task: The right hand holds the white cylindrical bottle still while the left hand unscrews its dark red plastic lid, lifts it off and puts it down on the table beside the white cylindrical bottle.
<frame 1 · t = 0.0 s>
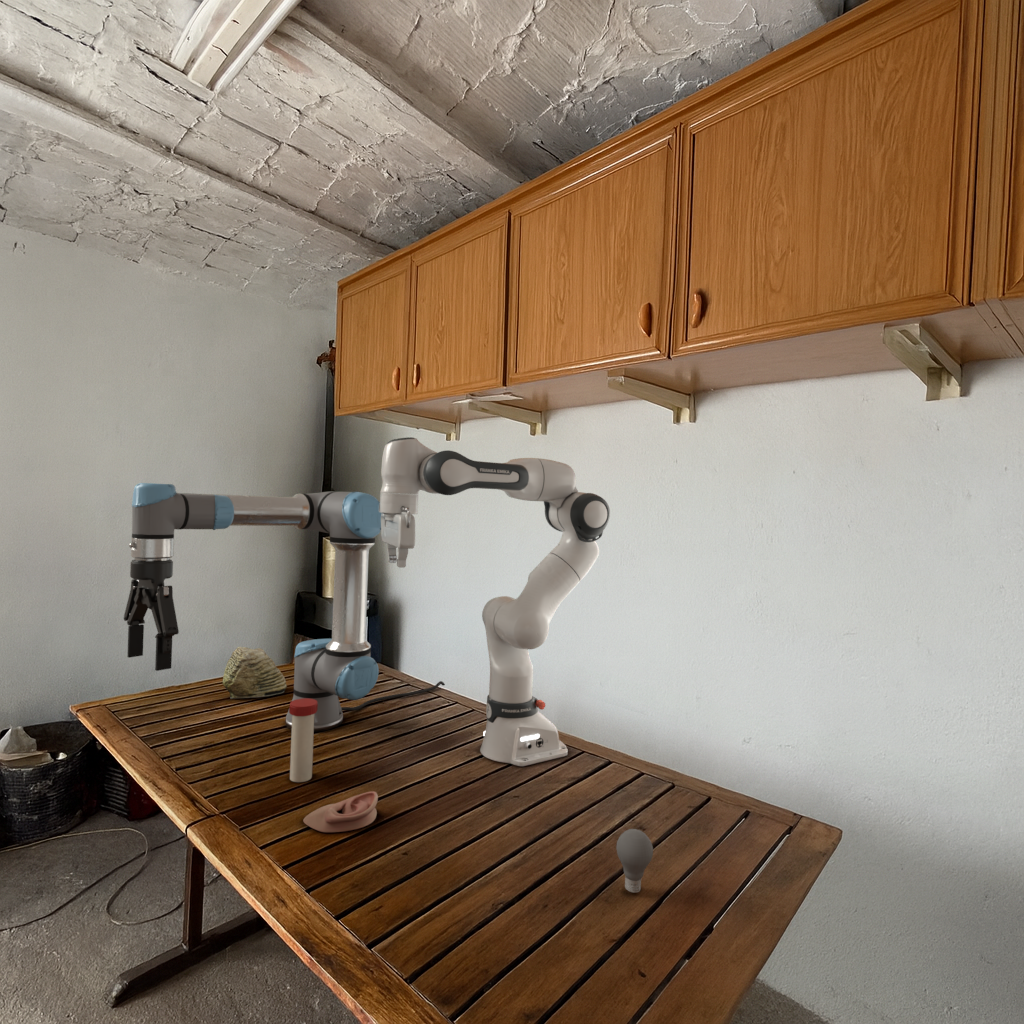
left hand: (148, 662, 129), 28 cm above the table, tool pointing down, fingers open, 13 cm apart
right hand: (396, 564, 149), 48 cm above the table, tool pointing down, fingers open, 8 cm apart
fossil: (254, 694, 198), on the table
lid: (303, 704, 142), point 17 cm above the table, screwed on, not yet turned
light bulb: (632, 891, 106), on the table
white cylindrical bottle: (300, 777, 142), on the table
anatomical model: (340, 819, 125), on the table
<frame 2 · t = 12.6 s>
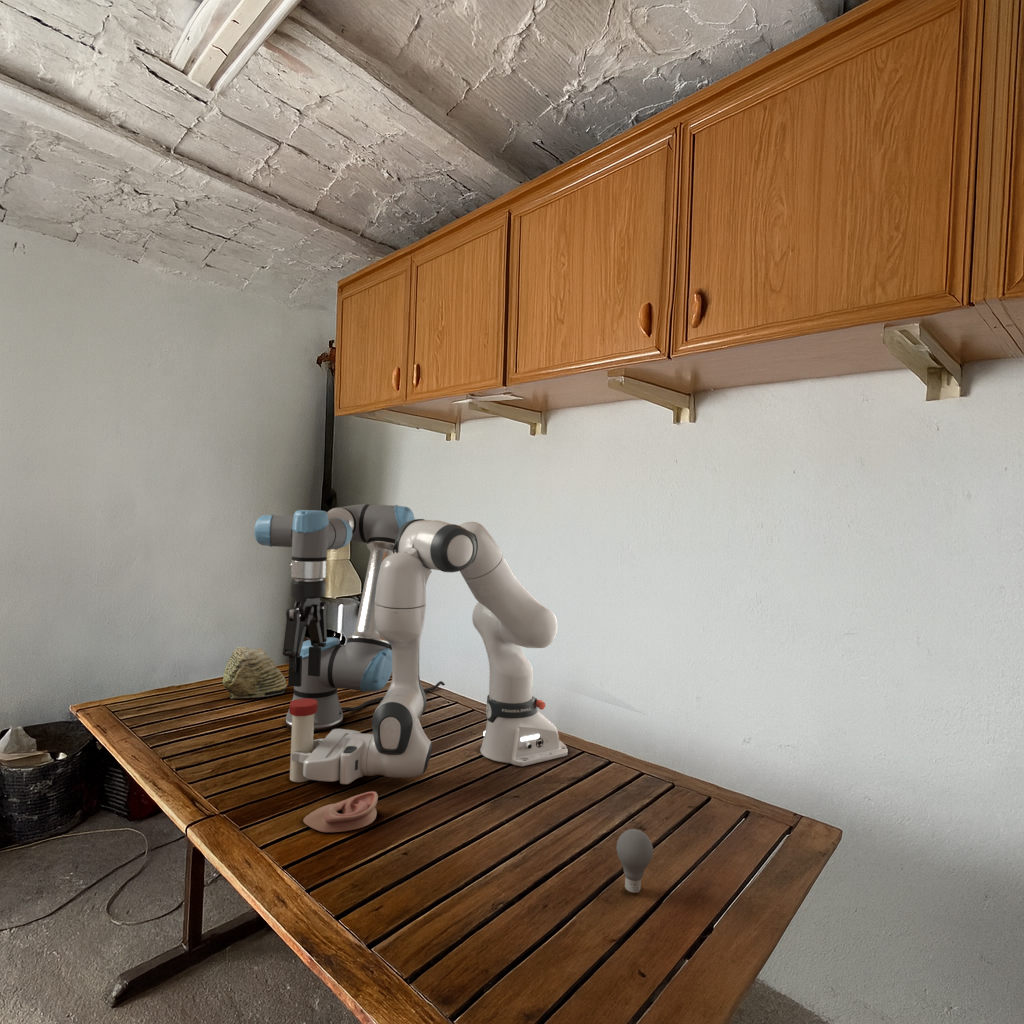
left hand: (304, 680, 142), 22 cm above the table, tool pointing down, fingers open, 8 cm apart
right hand: (297, 750, 142), 6 cm above the table, tool horizontal, fingers closed on white cylindrical bottle, 5 cm apart
white cylindrical bottle: (300, 777, 142), on the table, touching right hand
everything else where it was.
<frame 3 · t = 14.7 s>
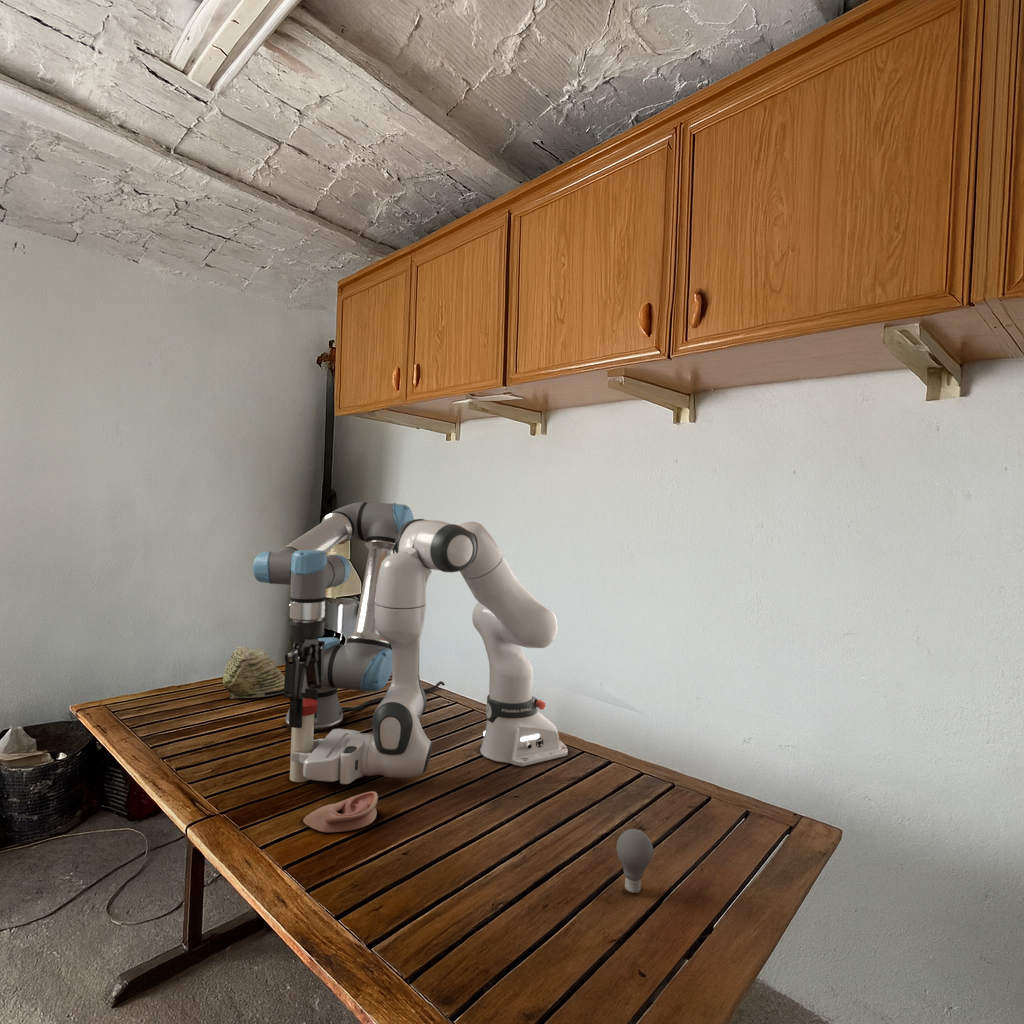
left hand: (303, 721, 142), 13 cm above the table, tool pointing down, fingers closed on lid, 6 cm apart
right hand: (297, 750, 142), 6 cm above the table, tool horizontal, fingers closed on white cylindrical bottle, 5 cm apart
lid: (303, 704, 142), point 17 cm above the table, screwed on, not yet turned, touching left hand
white cylindrical bottle: (300, 777, 142), on the table, touching right hand
everything else where it was.
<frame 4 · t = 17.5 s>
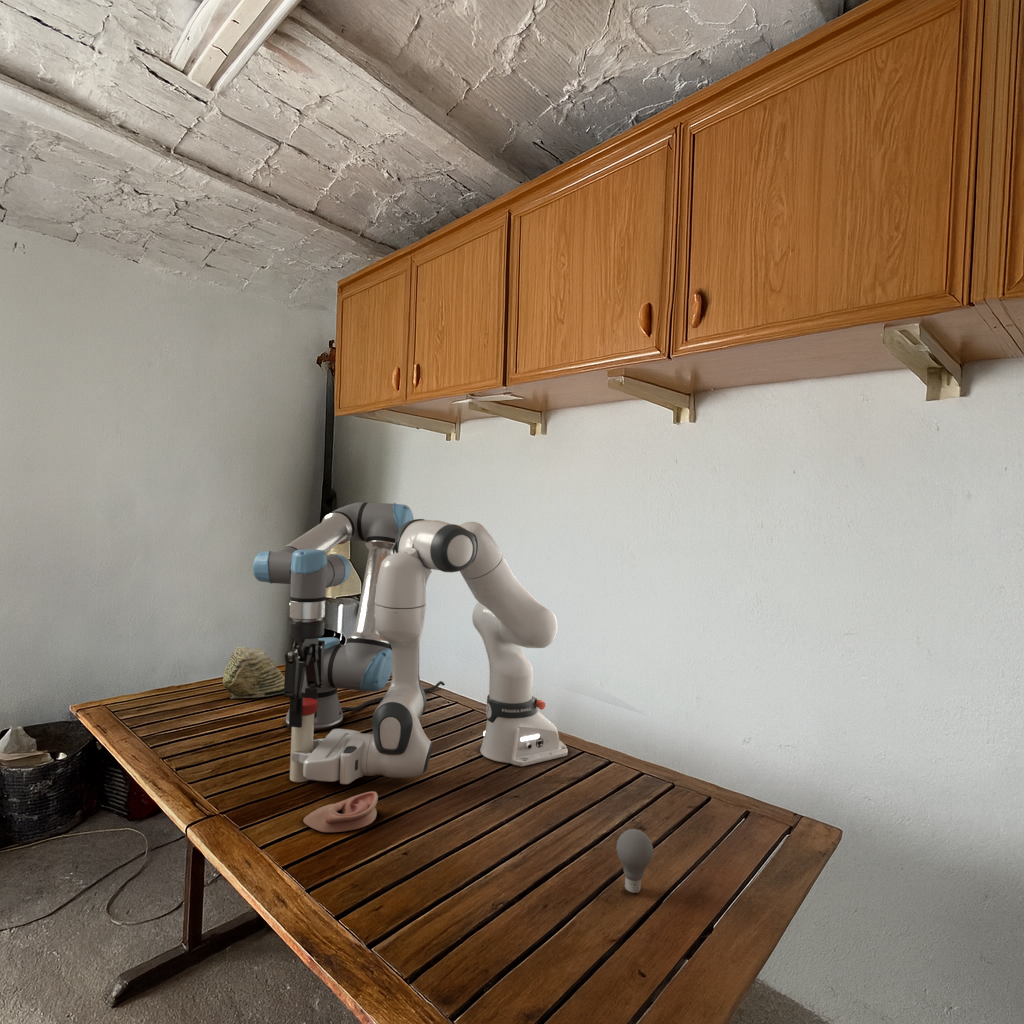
left hand: (303, 721, 142), 13 cm above the table, tool pointing down, fingers closed on lid, 6 cm apart
right hand: (297, 750, 142), 6 cm above the table, tool horizontal, fingers closed on white cylindrical bottle, 5 cm apart
lid: (303, 703, 142), point 17 cm above the table, turned 62° so far, risen 0.1 cm, still on its thread, touching left hand
white cylindrical bottle: (300, 777, 142), on the table, touching right hand
everything else where it was.
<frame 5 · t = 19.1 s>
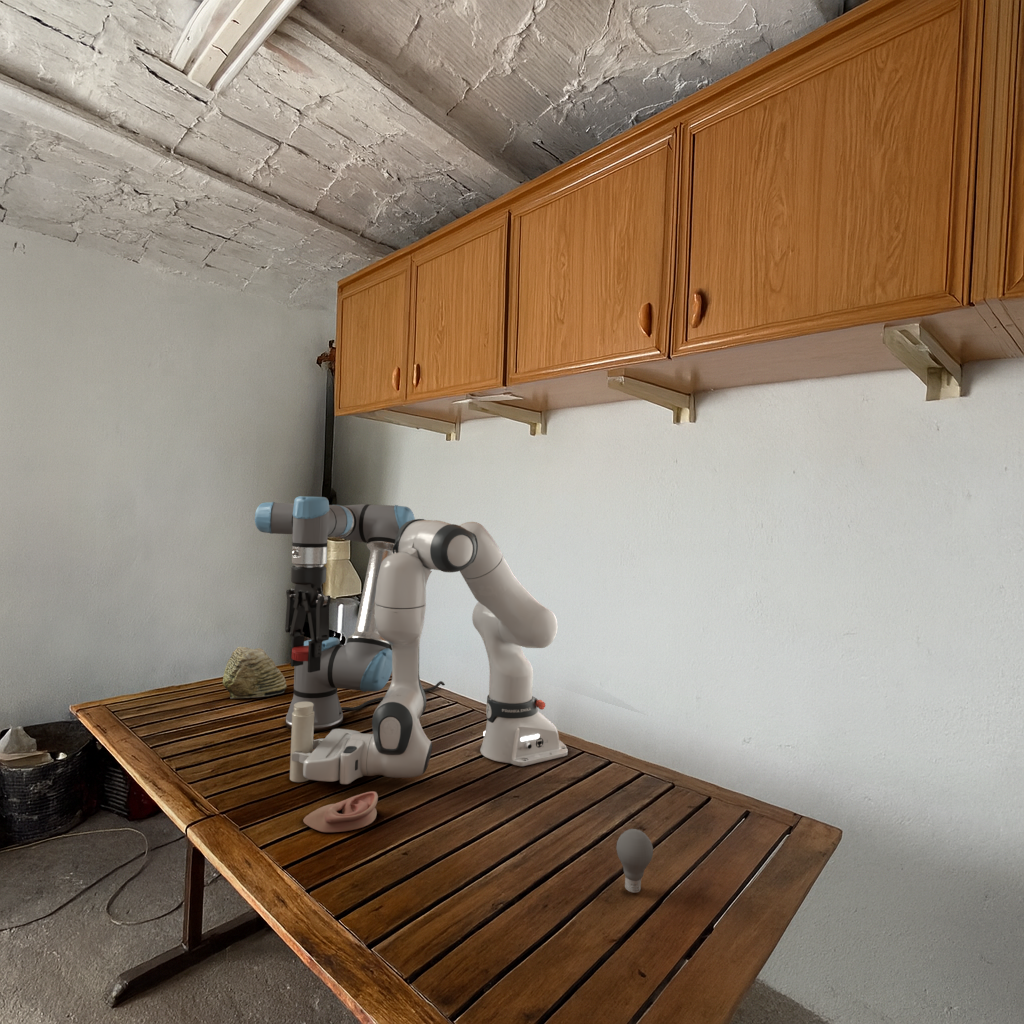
left hand: (305, 668, 142), 25 cm above the table, tool pointing down, fingers closed on lid, 6 cm apart
right hand: (297, 750, 142), 6 cm above the table, tool horizontal, fingers closed on white cylindrical bottle, 5 cm apart
lid: (305, 650, 142), point 29 cm above the table, off its thread, touching left hand
white cylindrical bottle: (300, 777, 142), on the table, touching right hand
everything else where it was.
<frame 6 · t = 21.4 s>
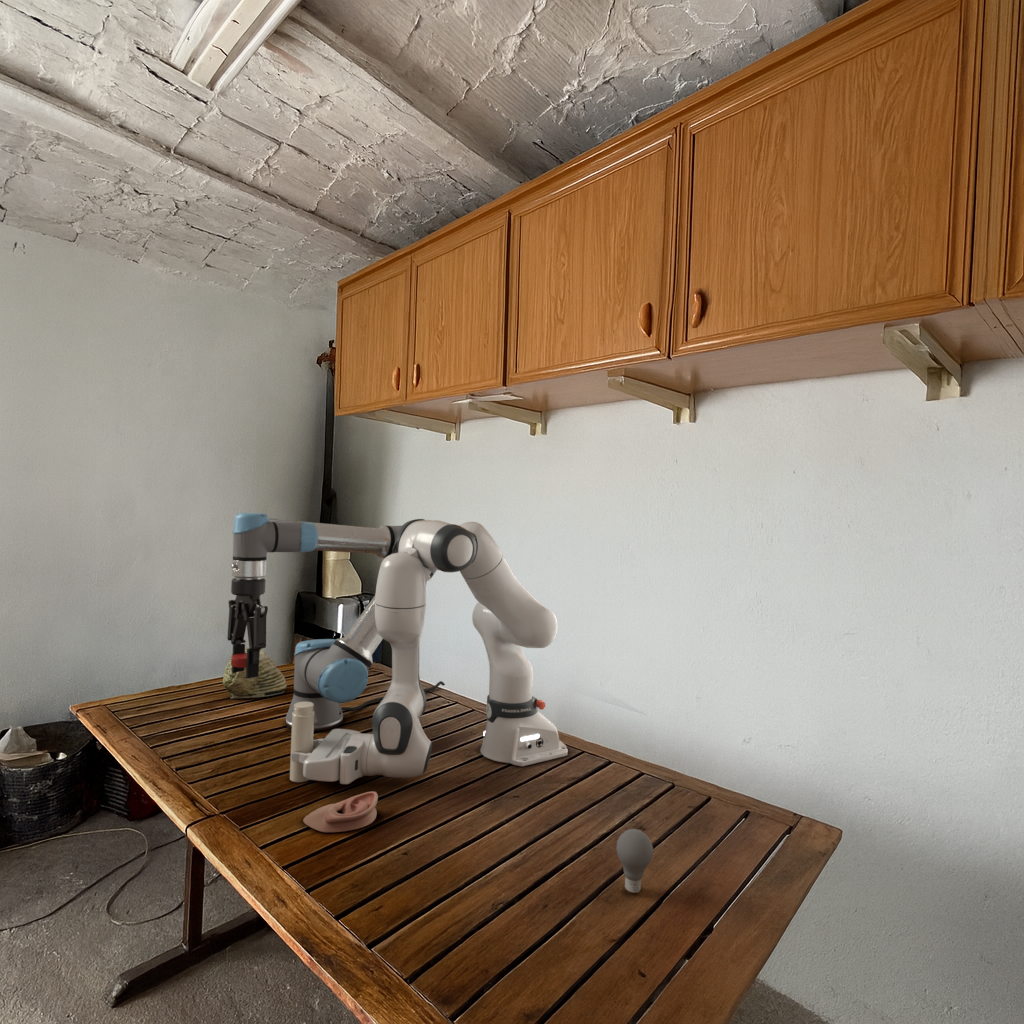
left hand: (245, 674, 151), 20 cm above the table, tool pointing down, fingers closed on lid, 6 cm apart
right hand: (297, 750, 142), 6 cm above the table, tool horizontal, fingers closed on white cylindrical bottle, 5 cm apart
lid: (245, 657, 151), point 24 cm above the table, off its thread, touching left hand
white cylindrical bottle: (300, 777, 142), on the table, touching right hand
everything else where it was.
when the left hand's fingers open (0 cm above the table, at t = 25.3 s): lid drops 2 cm, point 2 cm above the table.
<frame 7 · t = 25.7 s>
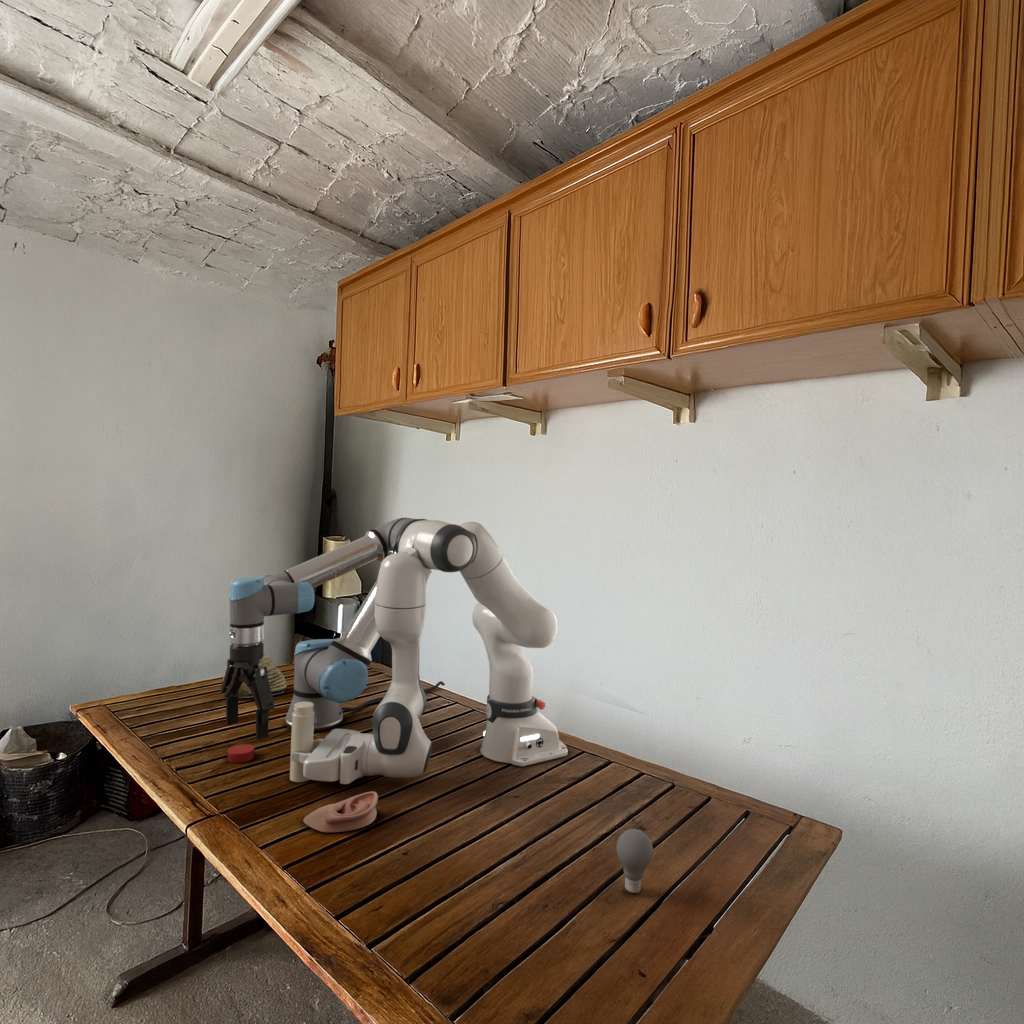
left hand: (246, 730, 152), 6 cm above the table, tool pointing down, fingers open, 13 cm apart
right hand: (297, 750, 142), 6 cm above the table, tool horizontal, fingers closed on white cylindrical bottle, 5 cm apart
lid: (241, 750, 151), point 2 cm above the table, off its thread
white cylindrical bottle: (300, 777, 142), on the table, touching right hand
everything else where it was.
when the right hand's fingers open (6 cm above the table, at t = 26.0 s): white cylindrical bottle stays where it is, on the table.
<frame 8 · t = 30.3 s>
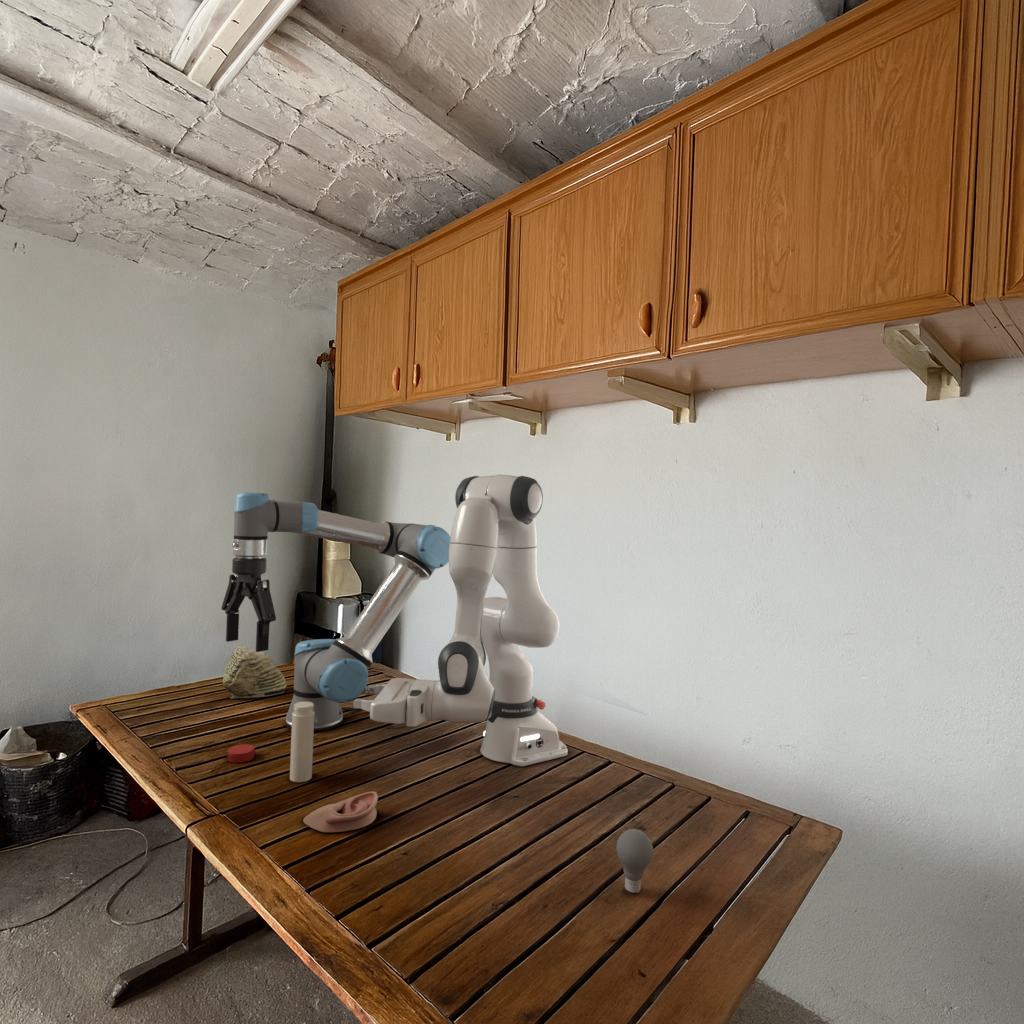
left hand: (246, 645, 151), 27 cm above the table, tool pointing down, fingers open, 13 cm apart
right hand: (360, 696, 142), 19 cm above the table, tool horizontal, fingers open, 8 cm apart
white cylindrical bottle: (300, 777, 142), on the table
everything else where it was.
at the end: lid came off its thread; lid point 1.8 cm above the table; the left hand is holding nothing; the right hand is holding nothing; white cylindrical bottle tilted 0°; white cylindrical bottle moved 0.0 cm from its start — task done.
